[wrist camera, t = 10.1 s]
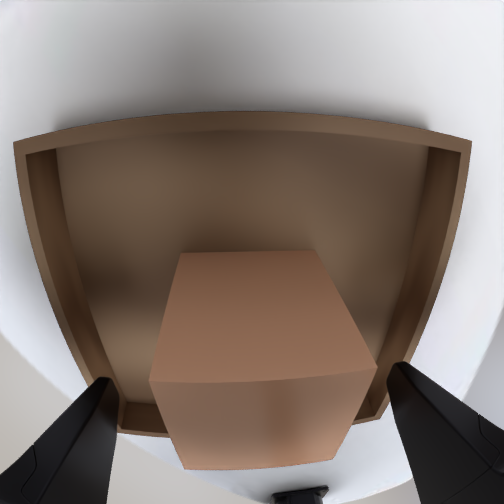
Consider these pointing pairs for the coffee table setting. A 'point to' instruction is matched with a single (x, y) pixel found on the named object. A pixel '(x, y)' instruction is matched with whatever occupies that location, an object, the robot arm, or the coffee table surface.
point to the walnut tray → (236, 226)
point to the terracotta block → (257, 361)
